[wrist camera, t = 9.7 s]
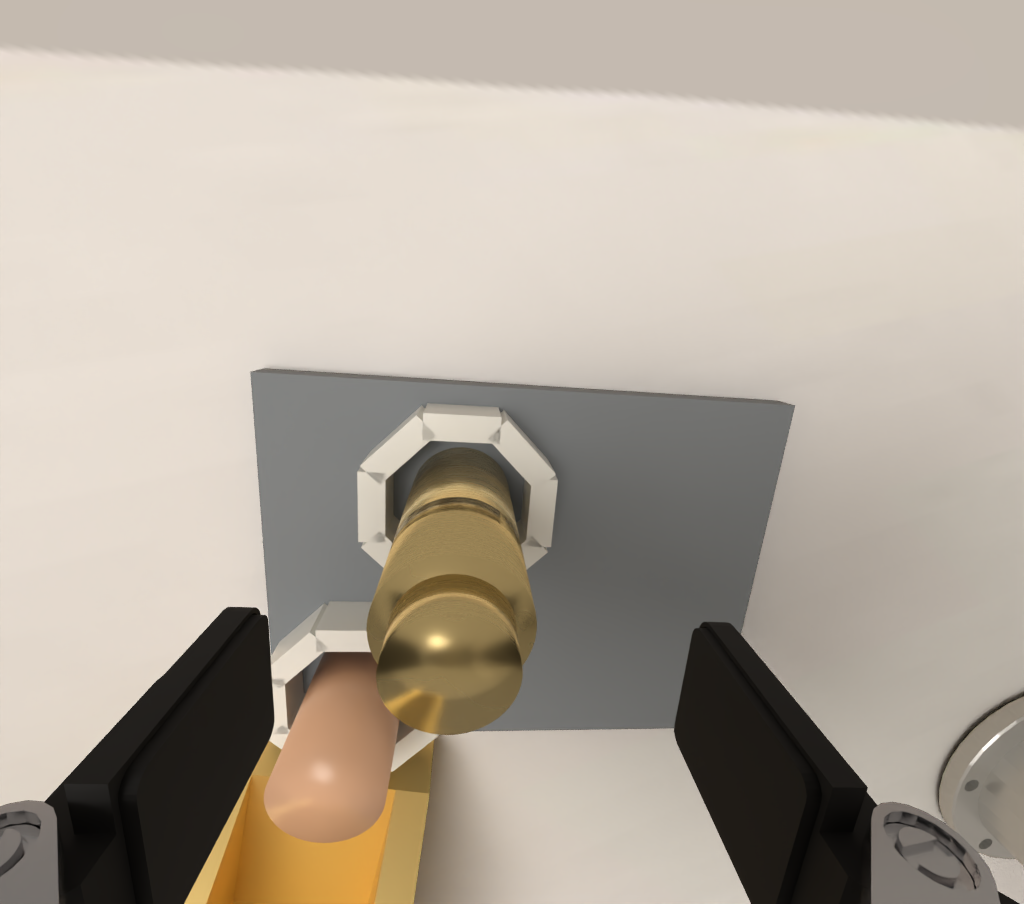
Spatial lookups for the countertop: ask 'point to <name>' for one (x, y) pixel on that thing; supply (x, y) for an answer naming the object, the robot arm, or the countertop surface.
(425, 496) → the gold rounded cylinder
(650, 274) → the countertop surface
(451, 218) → the countertop surface
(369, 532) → the white octagonal ring
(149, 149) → the countertop surface
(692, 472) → the mat
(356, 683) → the joined fitting
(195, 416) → the countertop surface
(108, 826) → the robot arm
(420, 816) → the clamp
